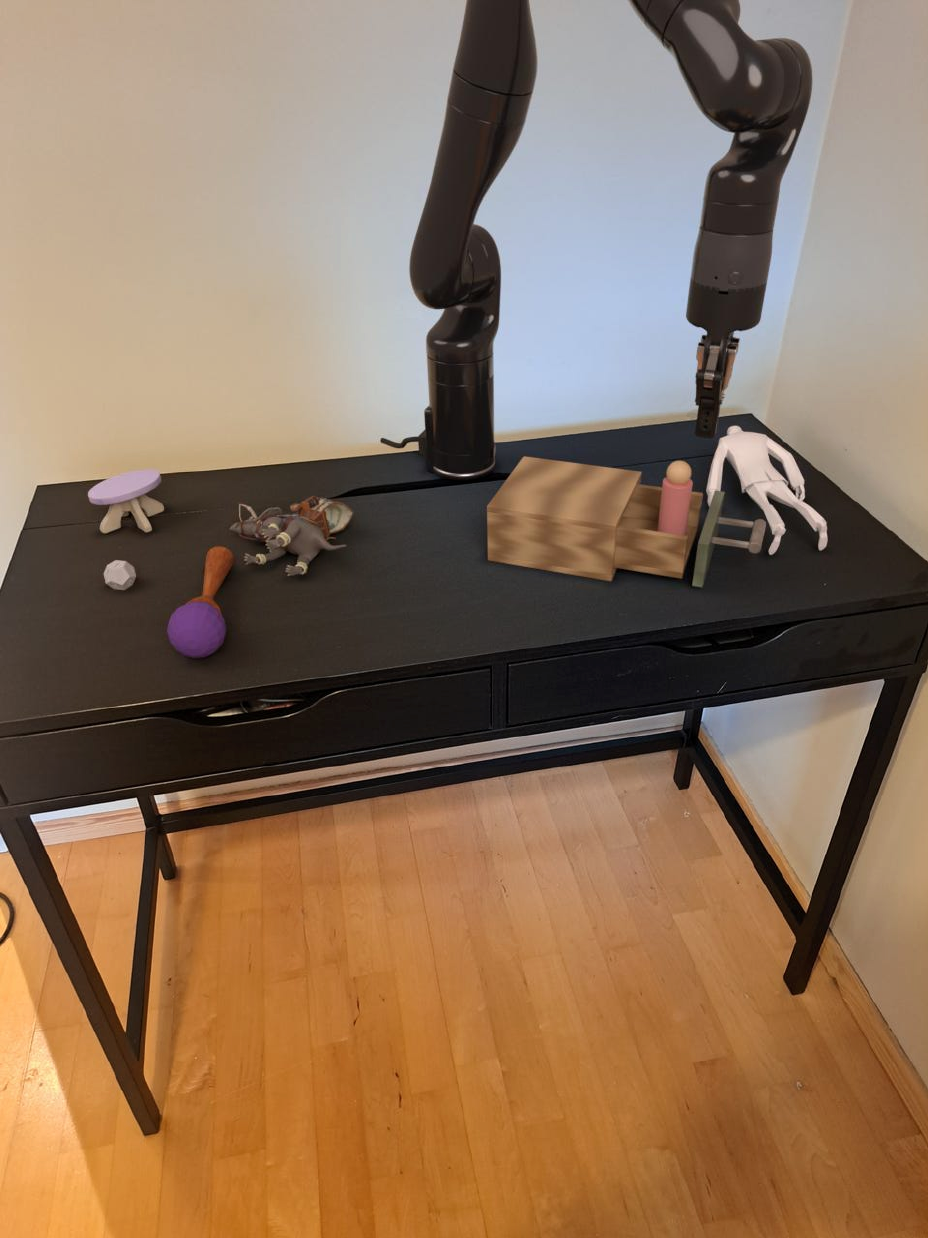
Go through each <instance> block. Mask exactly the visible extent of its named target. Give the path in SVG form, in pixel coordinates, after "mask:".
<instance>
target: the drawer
mask: <svg viewBox="0 0 928 1238" xmlns="http://www.w3.org/2000/svg"><path fill="white" fill-rule="evenodd" d="M661 494H662V486H655V485H649V484H648V485H647V484H638V485H637V487H636V489H635V491H634V493H633V495H632V498H631V500H630V502H629V504H628V506H627V508H626V510H625V512H624V514H623V517H622V519H621V521H620V523H619V525H618V527H617V533H616V545H615V558H614V567H615V568H617V569H621V570H627V571H634V572H640V573H645V574H651V575H657V576H662V577H663V576H664V577H669V578H675V579H681V580H682V579H683V577H684V573H685V571H686V567H687V565H688V561H689V558H690V556H691V552H692V549H693V546H694V544H695V540H696V537H697V534H698V531H699V525H700V518H701V510H702V503H703V496H704V493H703V492H700V491H692V493H691V501H690V508H689V516H688V523H687V531H686V536H684V535H677V534H670V533H664V532H657V531H658V522H659V512H660V503H661ZM725 494H726V492H725V491H722V490H720V491H715V492H714V495H713V498H712V501H711V504H710V507H709V506H708V507H709V508H708V511H707V514H706V516H705V520H704V523H703V526H702V529H701V533H700V535H699V539H698V542H697V549H696V555H695V562H694V569H693V578H692V585H691V586H692V587H697V588H703V587H704V584H705V581H706V577H707V574H708V571H709V567H710V563H711V560H712V558H713V557H712V556H713V552H714V549H715V547H716V546H715V545H722V546H727V547H733V548H734V547H735V548H741V549H748V552H750V553H751V554H758V553H760V552H761V550H762V546H763V541H764V537H765V532H766V528H767V527H766V526H767V522H766V521H765V520H764V519H763V518H759V519H756V520H754V521H749V520H743V519H736V518H730V517H729V518H728V517H722V512H723V505H724V501H725ZM720 525H727V526H735V527H742V528H749V529H751V534H750V538H749V541H743V540H737V539H731V538H725V537H718V535H719V531H720Z"/></svg>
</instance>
